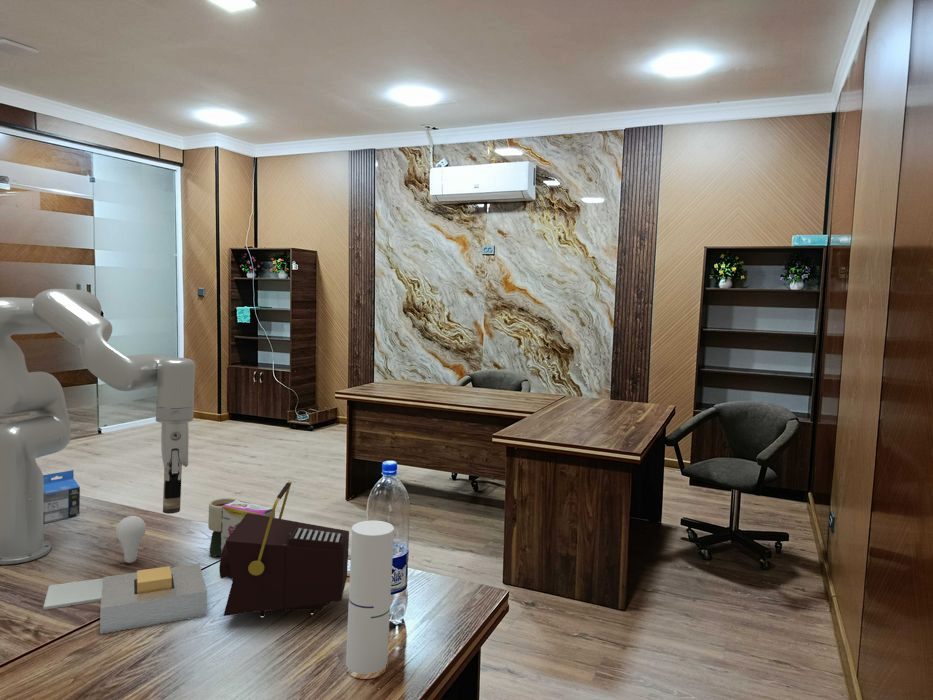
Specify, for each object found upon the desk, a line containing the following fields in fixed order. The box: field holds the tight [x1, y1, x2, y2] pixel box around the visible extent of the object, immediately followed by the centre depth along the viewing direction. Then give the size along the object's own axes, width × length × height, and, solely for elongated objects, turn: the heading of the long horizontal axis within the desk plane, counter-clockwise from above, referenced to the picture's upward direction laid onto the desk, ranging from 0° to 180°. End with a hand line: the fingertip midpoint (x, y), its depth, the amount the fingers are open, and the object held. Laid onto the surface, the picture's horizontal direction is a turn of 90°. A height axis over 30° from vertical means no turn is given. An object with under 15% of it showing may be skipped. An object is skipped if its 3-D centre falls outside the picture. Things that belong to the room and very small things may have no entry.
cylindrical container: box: [345, 520, 395, 674], centre depth 107 cm, size 7×7×25 cm
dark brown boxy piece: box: [218, 480, 350, 617], centre depth 126 cm, size 16×23×25 cm
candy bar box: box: [221, 499, 276, 579], centre depth 139 cm, size 11×5×16 cm, turn 71°
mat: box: [42, 577, 103, 611], centre depth 127 cm, size 10×10×1 cm
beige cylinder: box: [162, 463, 183, 515], centre depth 137 cm, size 4×4×12 cm
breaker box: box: [99, 563, 208, 635], centre depth 123 cm, size 18×14×5 cm
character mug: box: [207, 497, 240, 557], centre depth 151 cm, size 11×7×13 cm, turn 51°
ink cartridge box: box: [43, 469, 81, 525], centre depth 168 cm, size 9×4×12 cm, turn 147°
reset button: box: [136, 565, 172, 594], centre depth 123 cm, size 6×6×3 cm
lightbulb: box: [115, 515, 147, 564], centre depth 143 cm, size 6×6×11 cm
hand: (172, 494), depth 137 cm, fingers closed on beige cylinder, 3 cm apart
